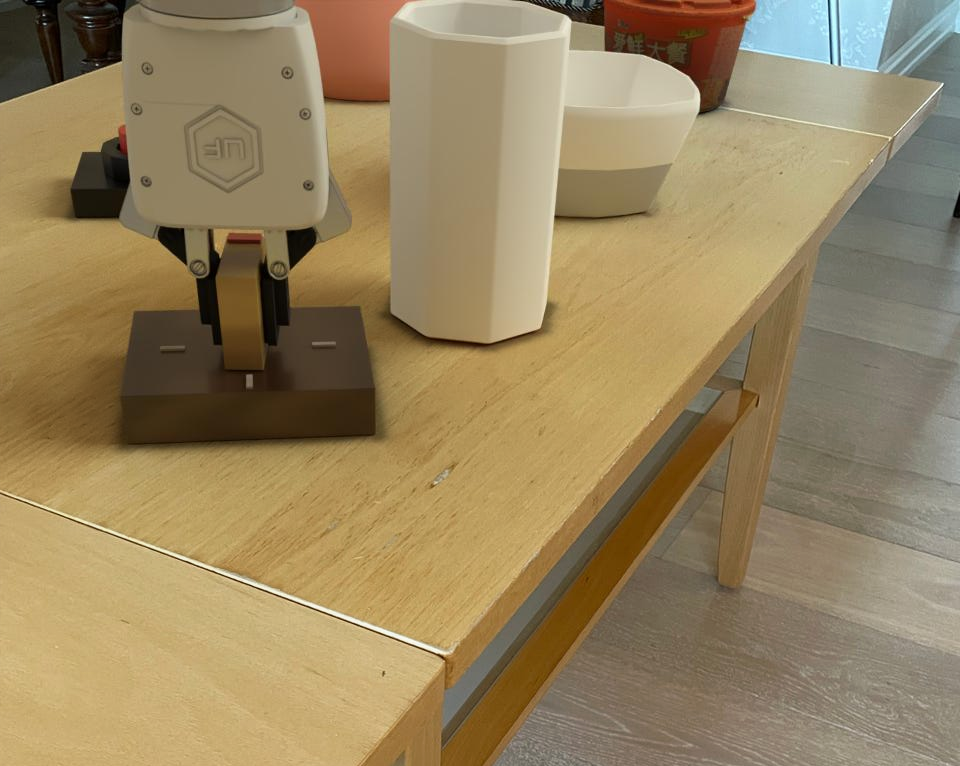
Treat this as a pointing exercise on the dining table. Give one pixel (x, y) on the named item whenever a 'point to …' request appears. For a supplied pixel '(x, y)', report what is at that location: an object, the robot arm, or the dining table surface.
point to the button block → (101, 182)
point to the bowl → (620, 132)
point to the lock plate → (247, 380)
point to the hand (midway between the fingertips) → (247, 333)
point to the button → (123, 138)
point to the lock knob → (242, 301)
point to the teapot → (353, 46)
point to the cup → (474, 164)
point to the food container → (682, 37)
